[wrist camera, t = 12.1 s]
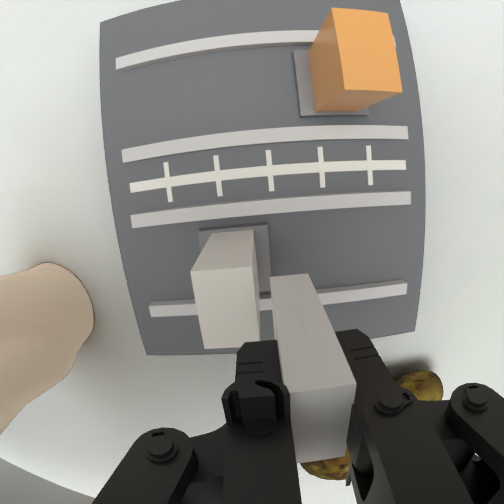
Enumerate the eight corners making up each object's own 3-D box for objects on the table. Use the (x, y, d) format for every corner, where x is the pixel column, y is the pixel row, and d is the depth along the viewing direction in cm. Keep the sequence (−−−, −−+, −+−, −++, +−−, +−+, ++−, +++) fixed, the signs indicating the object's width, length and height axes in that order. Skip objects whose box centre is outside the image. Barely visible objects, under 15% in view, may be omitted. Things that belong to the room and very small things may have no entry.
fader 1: (209, 290, 20) (187, 353, 13) (200, 228, 19) (169, 268, 12) (272, 285, 20) (278, 348, 13) (266, 222, 19) (272, 259, 12)
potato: (410, 417, 26) (436, 473, 19) (289, 429, 26) (296, 497, 19) (436, 354, 24) (477, 410, 16) (299, 362, 24) (313, 437, 16)
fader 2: (299, 117, 17) (324, 94, 10) (291, 54, 16) (310, 2, 9) (364, 116, 17) (420, 99, 10) (356, 55, 16) (403, 12, 9)
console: (154, 341, 24) (144, 360, 21) (111, 31, 17) (95, 19, 14) (404, 318, 23) (418, 335, 20) (388, 8, 16) (403, -6, 13)
